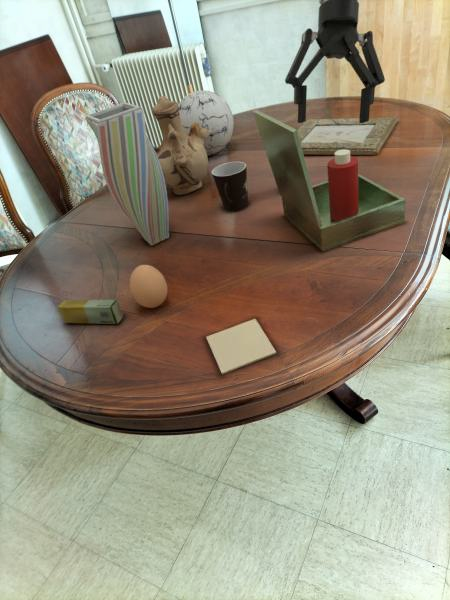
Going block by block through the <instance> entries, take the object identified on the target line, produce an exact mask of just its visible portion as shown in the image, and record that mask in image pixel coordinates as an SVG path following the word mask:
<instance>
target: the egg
mask: <svg viewBox="0 0 450 600" xmlns="http://www.w3.org/2000/svg"><path fill="white" fill-rule="evenodd" d="M167 284H168V283H167V280H166V278H165V277H164V275H163V274H162V273H161V271H159V270H158V269H157V268H156V267H154V266H152V265H149V264H141V265H138V266H137V267H135V268H134V270H133V271H132V272H131V275H130V280H129V289H130V294H131V296H132V297H133V299H134V301H135V302H136V303H137V304H138V305H140V306H142V307H144V308H148V309H154V308H157V307H159V306H161V305H162V304H163V303H164V302H165V301H166V298H167V295H168V285H167Z"/></svg>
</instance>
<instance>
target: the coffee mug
mask: <svg viewBox="0 0 450 600" xmlns="http://www.w3.org/2000/svg"><path fill="white" fill-rule="evenodd" d="M247 173H248V171H247V164H246V163H245V162H243V161H229V162H225V163H222V164H220V165H217V166H215V167H214V168H213V169H212V170H211V175H212V178H213V181H214V183H215V187H216V190H217V192H218V195H219V197H220V201H221V203H222V207H223V208H224V211H226V212H230V213H236V212H240V211H242V210H245V209H246V208H247V207H249V189H248V174H247Z"/></svg>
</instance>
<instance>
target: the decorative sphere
mask: <svg viewBox="0 0 450 600" xmlns="http://www.w3.org/2000/svg"><path fill="white" fill-rule="evenodd" d="M179 101H180V102H179V103H178V107H179V114H180V118H181V122H182V126H183V129H184V132H185V134H186V135H188V134H189V132H190V127H191V125H192V124H193V123H196V122H197V123H199V124H200V126H201V127H202V128H204V129H206V130H211V131H212V134H210V135H209V136H208V137H207V138H206V139H205V141H204V148H205V150H206V153H207V157H208V156H212V155H216V154H218V153H219V152H221V151H222V150H223V149H224V148H225V147H226V146H227V145H228V144H229V142H230V140H231V138H232V136H233V132H234V128H235V127H234V125H235V124H234V116H233V112H232V109H231V108H230V106H229V104H228V102H227V101H226V100H225V99H224V98H223V97H222V96H221V95H219V94H217V92H214V91H211V90H205V89H204V90H203V89H202V90H201V89H200V90H195V91H193V92H190V93H187V95H185V96H184V97H183V98H182V99H181V100H179Z"/></svg>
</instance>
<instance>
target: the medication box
mask: <svg viewBox="0 0 450 600" xmlns="http://www.w3.org/2000/svg"><path fill="white" fill-rule="evenodd" d="M57 308H58V310H59V313H60V315H61V317H62V320H63V322H64V324H97V325H99V324H100V325H101V324H103V325H119V323H121V322H122V320H123V318H124V314H123V311H122V309H121V306H120V303H119V300H118V299H64V300H63V301H62V302H61V303H60V304H59V305H58V307H57Z"/></svg>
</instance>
